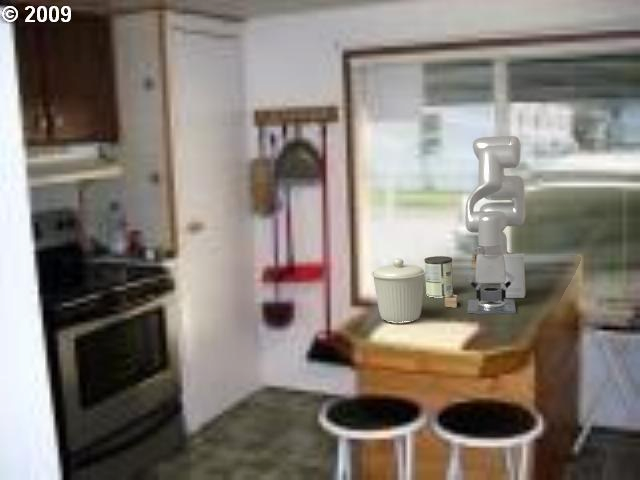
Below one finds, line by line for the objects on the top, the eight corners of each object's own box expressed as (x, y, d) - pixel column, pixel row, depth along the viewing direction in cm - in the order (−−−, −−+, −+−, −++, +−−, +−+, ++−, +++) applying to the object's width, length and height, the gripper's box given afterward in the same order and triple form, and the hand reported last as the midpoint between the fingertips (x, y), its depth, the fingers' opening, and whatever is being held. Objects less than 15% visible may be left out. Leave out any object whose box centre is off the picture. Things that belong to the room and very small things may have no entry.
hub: (468, 302, 285) (468, 290, 285) (514, 302, 282) (513, 289, 281) (467, 313, 270) (467, 300, 269) (515, 313, 266) (515, 300, 266)
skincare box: (525, 294, 292) (525, 253, 290) (524, 298, 286) (523, 256, 284) (502, 294, 295) (501, 253, 293) (500, 298, 289) (499, 256, 287)
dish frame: (472, 260, 365) (472, 253, 364) (515, 259, 361) (515, 252, 360) (471, 268, 345) (471, 261, 344) (517, 268, 341) (517, 261, 340)
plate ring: (480, 296, 280) (480, 287, 279) (501, 296, 278) (501, 286, 278) (480, 301, 273) (480, 291, 272) (502, 301, 271) (501, 291, 271)
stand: (445, 303, 286) (445, 291, 285) (457, 303, 285) (456, 291, 285) (445, 307, 280) (444, 295, 279) (456, 307, 279) (456, 295, 278)
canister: (413, 329, 254) (410, 264, 251) (364, 324, 264) (361, 262, 261) (436, 315, 269) (434, 254, 266) (388, 311, 279) (386, 252, 276)
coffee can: (430, 291, 306) (428, 255, 304) (456, 292, 302) (455, 256, 299) (422, 297, 297) (420, 260, 294) (449, 299, 292) (447, 261, 290)
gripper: (464, 252, 271) (465, 303, 274) (516, 251, 267) (517, 302, 270) (464, 248, 278) (466, 298, 281) (515, 247, 275) (516, 297, 277)
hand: (491, 300), depth 276 cm, fingers closed on plate ring, 7 cm apart
